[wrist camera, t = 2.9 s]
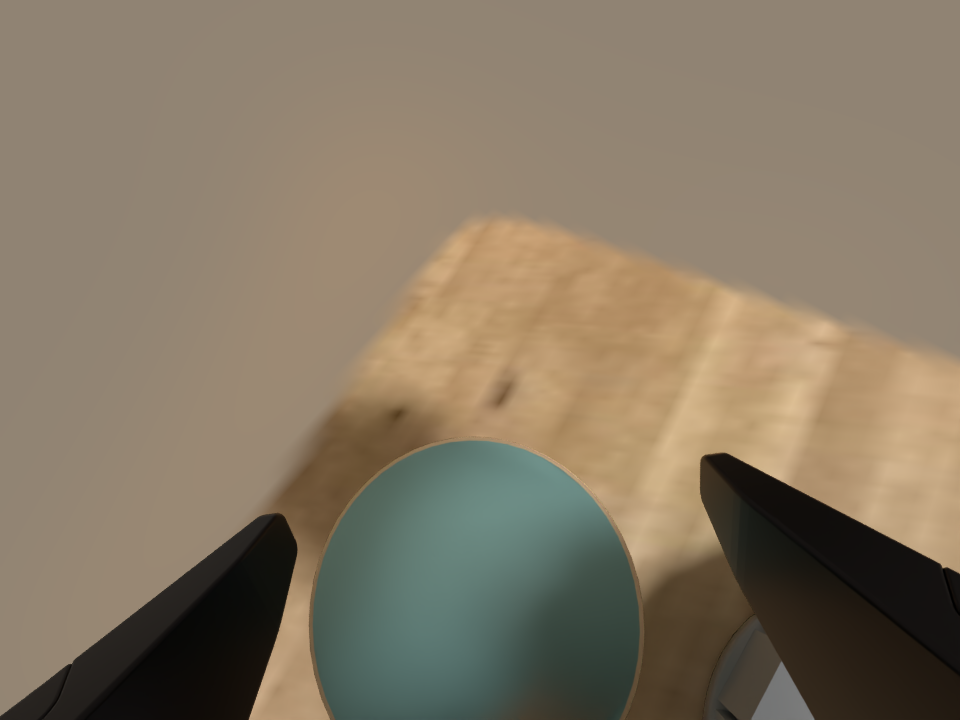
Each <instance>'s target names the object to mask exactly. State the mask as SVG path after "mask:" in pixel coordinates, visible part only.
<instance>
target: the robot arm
mask: <svg viewBox="0 0 960 720" xmlns="http://www.w3.org/2000/svg"><path fill="white" fill-rule="evenodd" d="M700 494H701V499H702V502H703V504H704V507H705V509H706V511H707V514H708V516H709V518H710V521H711V523H712V525H713V528H714V530H715V532H716V535H717V537H718V539H719V542H720V544H721V546H722V549H723V551H724V553H725V556H726V558H727V560H728V563H729V565H730V567H731V570H732V572H733V574H734V576H735V578H736V580H737V582H738V584H739V586H740V588H741V590H742V592H743V593H744V595H745V597H746V599H747V601H748V602H749V604H750V606H751V608H752V609H753V611H754V613H755V615H756V617H757V618H758V620H759V622H760V624H761V625H762V627H763V629H764V631H765V632H766V634H767V636H768V638H769V640H770V641H771V643H772V645H773V647H774V648H775V650H776V652H777V654H778V656H779V657H780V659H781V661H782V663H783V664H784V666H785V668H786V670H787V671H788V673H789V675H790V677H791V679H792V680H793V682H794V684H795V686H796V687H797V689H798V691H799V693H800V695H801V696H802V698H803V700H804V702H805V703H806V705H807V707H808V709H809V710H810V712H811V714H812V716H813V718H814V719H815V720H960V574H959V573H957V572H956V571H954V570H952V569H950V568H947V567H946V568H942V566H941V564H940V563H938V562H936V561H934V560H932V559H930V558H928V557H926V556H924V555H922V554H920V553H918V552H917V551H915V550H913V549H911V548H909V547H907V546H905V545H903V544H901V543H899V542H897V541H895V540H893V539H891V538H890V537H888V536H886V535H884V534H882V533H880V532H878V531H876V530H874V529H872V528H870V527H868V526H866V525H864V524H863V523H861V522H859V521H857V520H855V519H853V518H851V517H849V516H847V515H845V514H843V513H841V512H839V511H837V510H836V509H834V508H832V507H830V506H828V505H826V504H824V503H822V502H820V501H818V500H816V499H814V498H812V497H810V496H809V495H807V494H805V493H803V492H801V491H799V490H797V489H795V488H793V487H791V486H789V485H787V484H785V483H783V482H782V481H780V480H778V479H776V478H774V477H772V476H770V475H768V474H766V473H764V472H762V471H760V470H758V469H756V468H755V467H753V466H751V465H749V464H747V463H745V462H743V461H741V460H739V459H737V458H735V457H733V456H731V455H729V454H727V453H715V454H708V455H704V456H703V457H702V458H701V462H700ZM296 557H297V543H296V540H295V538H294V536H293V534H292V532H291V529H290V527H289V525H288V523H287V521H286V519H285V517H284V516H283V515H282V514H280V513H274V514H267V515H262V516H259V517H258V518H256V519H255V520H254V521H253V522H251V523H250V524H249V525H247V526H246V527H245V528H244V529H242V530H241V531H240V532H238V533H237V534H236V535H235V536H233V537H232V538H231V539H229V540H228V541H227V542H226V543H224V544H223V545H222V546H220V547H219V548H218V549H216V550H215V551H214V552H213V553H211V554H210V555H209V556H207V557H206V558H205V559H204V560H202V561H201V562H200V563H198V564H197V565H196V566H195V567H193V568H192V569H191V570H190V571H188V572H187V573H186V574H184V575H183V576H182V577H180V578H179V579H178V580H177V581H175V582H174V583H173V584H171V585H170V586H169V587H168V588H166V589H165V590H164V591H162V592H161V593H160V594H158V595H157V596H156V597H155V598H153V599H152V600H151V601H150V602H148V603H147V604H146V605H144V606H143V607H142V608H140V609H139V610H138V611H137V612H135V613H134V614H133V615H131V616H130V617H129V618H128V619H126V620H125V621H124V622H122V623H121V624H120V625H119V626H117V627H116V628H115V629H114V630H112V631H111V632H110V633H108V634H107V635H106V636H104V637H103V638H102V639H100V640H99V641H98V642H97V643H95V644H94V645H93V646H91V647H90V648H89V649H88V650H86V651H85V652H84V653H82V654H81V655H80V656H79V657H77V658H76V659H75V660H74V661H73V663H72V664H68V665H67V666H65V667H64V668H63V669H62V670H60V671H59V672H58V673H56V674H55V675H54V676H53V677H51V678H50V679H49V680H48V681H46V682H45V683H44V684H42V685H41V686H40V687H39V688H37V689H36V690H34V691H33V692H32V693H30V694H29V695H28V696H27V697H25V698H24V699H23V700H21V701H20V702H19V703H17V704H16V705H15V706H13V707H12V708H11V709H9V710H8V711H7V712H5V713H4V714H3V715H1V716H0V720H249V717H250V714H251V711H252V708H253V706H254V703H255V700H256V697H257V694H258V691H259V688H260V685H261V682H262V679H263V676H264V673H265V670H266V667H267V665H268V662H269V659H270V656H271V653H272V650H273V647H274V644H275V641H276V638H277V634H278V631H279V628H280V624H281V620H282V616H283V612H284V608H285V604H286V600H287V595H288V591H289V587H290V583H291V578H292V574H293V570H294V566H295V562H296Z"/></svg>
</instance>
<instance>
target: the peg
mask: <svg viewBox="0 0 960 720" xmlns="http://www.w3.org/2000/svg"><path fill="white" fill-rule="evenodd" d="M309 637H310V652H311V657H312V663H313V669H314V675H315V678H316V682H317V685H318V689H319V692H320V695H321V699H322V701H323V703H324V706H325V708H326V710H327V713H328V715H329V717H330V720H625V719H626V717H627V715H628V713H629V710H630V707H631V704H632V701H633V698H634V695H635V692H636V689H637V686H638V681H639V676H640V671H641V666H642V661H643V648H644V614H643V603H642V597H641V592H640V586H639V581H638V577H637V574H636V571H635V567H634V564H633V561H632V557H631V555H630V553H629V550H628V548H627V546H626V543H625V541H624V539H623V536H622V534H621V532H620V531H619V529H618V527H617V526H616V524H615V522H614V520H613V519H612V517H611V515H610V514H609V512H608V511H607V510H606V508H605V507H604V506H603V504H602V503H601V502H600V500H599V499H598V498H597V496H596V495H595V494H594V493H593V492H592V491H591V490H590V489H589V488H588V487H587V486H586V485H585V484H584V483H583V482H582V481H581V480H580V479H579V478H578V477H577V476H575V475H574V474H573V473H572V472H570V471H569V470H568V469H567V468H565V467H564V466H563V465H561V464H560V463H558V462H556V461H555V460H553V459H552V458H550V457H548V456H547V455H545V454H543V453H540V452H538V451H536V450H534V449H532V448H529V447H527V446H524V445H521V444H517V443H514V442H511V441H507V440H501V439H495V438H489V437H462V438H452V439H447V440H442V441H438V442H434V443H430V444H427V445H425V446H422V447H419V448H417V449H414V450H412V451H410V452H408V453H406V454H404V455H402V456H401V457H399V458H397V459H395V460H394V461H392V462H391V463H389V464H388V465H387V466H385V467H384V468H382V469H381V470H379V471H378V472H377V473H376V474H375V475H374V476H373V477H372V478H370V479H369V480H368V481H367V482H366V483H365V484H364V485H363V486H362V487H361V488H360V490H359V491H358V492H357V493H356V494H355V495H354V496H353V497H352V499H351V500H350V501H349V503H348V504H347V506H346V507H345V509H344V510H343V511H342V513H341V514H340V516H339V517H338V519H337V521H336V523H335V525H334V527H333V528H332V530H331V532H330V534H329V536H328V538H327V541H326V543H325V546H324V548H323V551H322V553H321V556H320V559H319V562H318V566H317V570H316V573H315V577H314V581H313V588H312V594H311V600H310V614H309Z"/></svg>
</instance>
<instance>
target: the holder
mask: <svg viewBox="0 0 960 720" xmlns="http://www.w3.org/2000/svg"><path fill="white" fill-rule="evenodd" d="M702 720H815V719H814V718H813V716H812V714H811V712H810V710H809V709H808V707H807V705H806V703H805V702H804V700H803V698H802V696H801V695H800V693H799V691H798V689H797V687H796V686H795V684H794V682H793V680H792V679H791V677H790V675H789V673H788V671H787V670H786V668H785V666H784V664H783V663H782V661H781V659H780V657H779V656H778V654H777V652H776V650H775V648H774V647H773V645H772V643H771V641H770V640H769V638H768V636H767V634H766V632H765V631H764V629H763V627H762V625H761V624H760V622H759V620H758V618H757V617H756V615H755V614H754V615H753V616H752V617H750V618H749V619H748V620H747V621H746V622H745V623H744V624H743V625H742V626H741V627H740V628H739V630H738V631H737V632H736V633H735V634H734V635H733V637H732V638H731V640H730V641H729V643H728V644H727V646H726V647H725V649H724V650H723V652H722V654H721V656H720V658H719V660H718V662H717V665H716V667H715V669H714V671H713V674H712V677H711V680H710V684H709V687H708V690H707V694H706V699H705V706H704V712H703V719H702Z"/></svg>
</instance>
